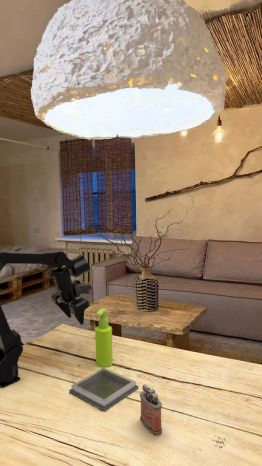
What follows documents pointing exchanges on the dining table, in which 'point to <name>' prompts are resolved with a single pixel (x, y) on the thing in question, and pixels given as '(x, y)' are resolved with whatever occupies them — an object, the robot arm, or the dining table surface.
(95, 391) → the holder
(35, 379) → the dining table surface
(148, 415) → the lighter
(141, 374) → the dining table surface
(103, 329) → the soap dispenser
